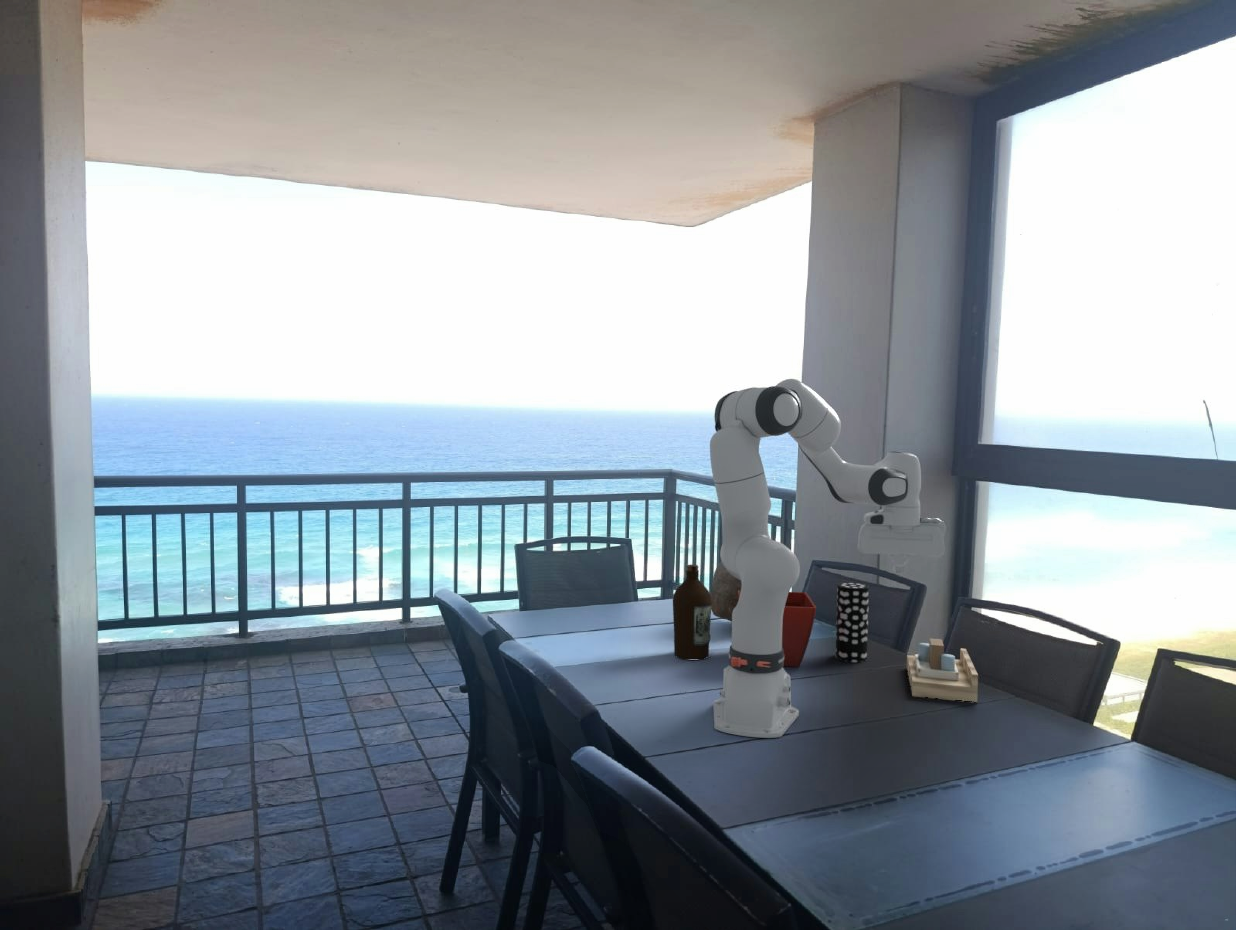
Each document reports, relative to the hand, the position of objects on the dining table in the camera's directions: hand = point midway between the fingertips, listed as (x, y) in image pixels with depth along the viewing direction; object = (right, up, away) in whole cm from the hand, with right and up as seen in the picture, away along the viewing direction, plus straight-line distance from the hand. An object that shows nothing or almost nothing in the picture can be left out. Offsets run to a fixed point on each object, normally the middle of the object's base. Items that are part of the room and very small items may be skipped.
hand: (899, 572), depth 193 cm
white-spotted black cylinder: (-6, -26, +20) cm, 34 cm away
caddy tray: (+8, -24, -1) cm, 25 cm away
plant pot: (-27, -26, +18) cm, 42 cm away
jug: (-30, -25, +49) cm, 63 cm away
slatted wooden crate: (+9, -27, -1) cm, 29 cm away
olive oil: (-50, -26, +21) cm, 60 cm away
